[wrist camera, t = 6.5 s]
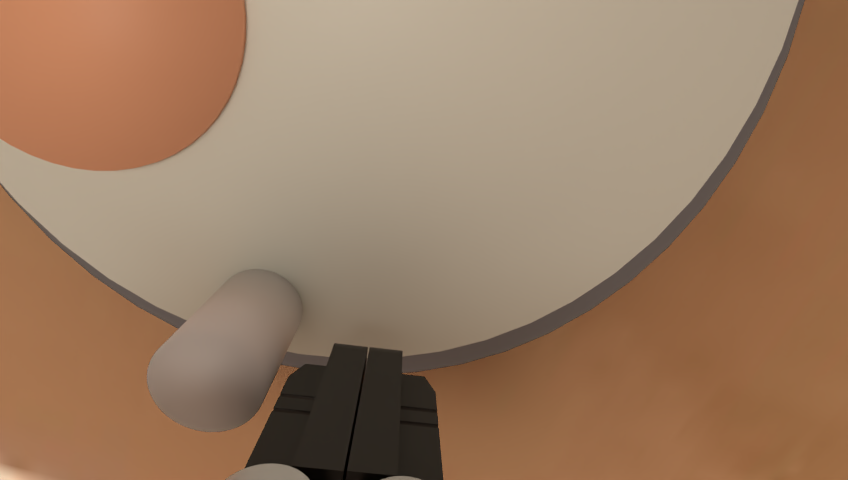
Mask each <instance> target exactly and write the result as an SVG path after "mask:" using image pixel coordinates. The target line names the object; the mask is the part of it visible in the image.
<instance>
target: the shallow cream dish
mask: <svg viewBox="0 0 848 480" xmlns="http://www.w3.org/2000/svg"><path fill="white" fill-rule="evenodd" d="M798 1H799V0H0V183H1V184H2V185H3V186H4V187H5V189H6V190H7V191H8V192H9V193H10V194H11V195H12V196H13V198H14V199H15V200H16V201H17V202H18V203H19V204H20V205H21V206H22V207H23V208H24V209H25V210H26V211H27V212H28V213H30V214H31V215H32V216H33V217H34V218H35V219H36V220H37V221H38V222H39V223H40V224H41V225H43V226H44V227H45V228H46V229H47V230H48V231H49V232H50V233H51V234H52V235H53V236H54V237H56V238H57V239H58V240H59V241H60V242H61V243H62V244H63V245H65V246H66V247H67V248H69V249H70V250H71V251H73V252H74V253H75V254H77V255H78V256H79V257H81V258H82V259H83V260H85V261H86V262H87V263H89V264H90V265H91V266H93V267H94V268H95V269H97V270H98V271H99V272H101V273H102V274H103V275H105V276H106V277H107V278H109V279H110V280H112V281H114V282H116V283H117V284H119V285H121V286H122V287H124V288H126V289H127V290H129V291H131V292H132V293H134V294H136V295H137V296H139V297H141V298H142V299H144V300H146V301H148V302H149V303H151V304H153V305H154V306H156V307H158V308H160V309H163V310H165V311H167V312H169V313H171V314H174V315H176V316H178V317H180V318H182V319H185V320H187V321H186V322H185V323H184V324H183V325H182V326H181V327H180V328H179V329H178V330H177V331H176V332H175V333H174V334H173V335H172V336H171V337H170V338H169V339H168V340H167V341H166V342H165V343H164V344H163V345H162V346H161V347H160V348H159V349H158V350H157V351H156V352H155V354H154V355H153V357H152V358H151V361H150V363H149V366H148V370H147V384H148V389H149V391H150V394H151V396H152V398H153V400H154V402H155V403H156V405H157V406H158V407H159V408H160V410H161V411H162V412H163V413H164V414H166V415H167V416H168V417H169V418H171V419H172V420H173V421H175V422H177V423H179V424H180V425H183V426H185V427H187V428H190V429H194V430H198V431H204V432H221V431H227V430H231V429H234V428H236V427H239V426H241V425H243V424H245V423H246V422H247V421H249V420H250V419H251V418H252V417H253V416H254V415H255V414H256V413H257V411H258V410H259V408H260V406H261V405H262V403H263V400H264V398H265V396H266V394H267V392H268V390H269V388H270V386H271V384H272V382H273V380H274V377H275V375H276V373H277V371H278V369H279V367H280V365H281V363H282V361H283V359H284V356H285V354H286V352H292V353H297V354H304V355H315V356H325V357H330V354H331V351H332V348H333V345H334V343H338V344H347V345H356V346H365V347H368V353H369V348H370V347H374V348H383V349H392V350H401V351H403V355H402V357H403V356H411V355H418V354H426V353H433V352H441V351H445V350H449V349H453V348H457V347H461V346H465V345H468V344H472V343H476V342H480V341H484V340H488V339H490V338H493V337H495V336H498V335H501V334H503V333H506V332H509V331H511V330H514V329H517V328H519V327H522V326H524V325H527V324H530V323H532V322H534V321H536V320H538V319H540V318H542V317H544V316H545V315H547V314H549V313H551V312H553V311H555V310H557V309H559V308H561V307H563V306H565V305H567V304H569V303H571V302H573V301H574V300H576V299H577V298H579V297H580V296H582V295H583V294H585V293H586V292H588V291H589V290H591V289H592V288H594V287H595V286H597V285H598V284H600V283H601V282H603V281H604V280H606V279H607V278H609V277H610V276H612V275H613V274H615V273H616V272H617V271H618V270H619V269H621V268H622V267H623V266H624V265H625V264H627V263H628V262H629V261H630V260H631V259H632V258H634V257H635V256H636V255H637V254H638V253H639V252H641V251H642V250H643V249H644V248H645V247H647V246H648V245H649V244H650V243H651V242H652V241H654V240H655V239H656V238H657V237H658V236H659V235H660V233H661V232H662V231H663V230H664V229H665V228H666V227H667V226H668V225H669V224H670V223H671V222H672V221H673V220H674V219H675V218H676V217H677V215H678V214H679V213H680V212H681V211H682V210H683V209H684V208H685V207H686V206H687V205H688V204H689V203H690V202H691V201H692V199H693V198H694V197H695V195H696V194H697V193H698V191H699V190H700V189H701V187H702V186H703V185H704V183H705V182H706V181H707V180H708V178H709V177H710V176H711V174H712V173H713V172H714V170H715V169H716V168H717V166H718V165H719V164H720V162H721V161H722V160H723V158H724V157H725V156H726V154H727V152H728V151H729V149H730V147H731V146H732V144H733V142H734V141H735V139H736V137H737V136H738V134H739V132H740V131H741V129H742V127H743V126H744V124H745V122H746V121H747V119H748V117H749V116H750V114H751V112H752V111H753V109H754V107H755V106H756V104H757V102H758V99H759V97H760V95H761V93H762V91H763V89H764V87H765V84H766V82H767V80H768V78H769V76H770V74H771V71H772V69H773V67H774V65H775V63H776V61H777V59H778V56H779V54H780V52H781V50H782V47H783V44H784V42H785V39H786V36H787V33H788V30H789V27H790V24H791V21H792V18H793V15H794V12H795V9H796V6H797V3H798ZM368 353H367V358H368Z"/></svg>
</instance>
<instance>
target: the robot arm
mask: <svg viewBox="0 0 848 480" xmlns="http://www.w3.org/2000/svg"><path fill="white" fill-rule="evenodd" d="M367 353H368V347H365V346H356V345H347V344H338V343H334V345H333V348H332V351H331V354H330V357H329V360H328V363H327V366H322V365H313V364H304V365H303V366H302V367H300V368H299V369H298V370H297V371H295V372H294V373H293V374H291V375H290V376H289V377H288V379H287V381H286V383H285V385H284V387H283V389H282V391H281V395H280V397H279V398H278V400H277V402H276V404H275V406H274V410H273V411H272V412H271V414H270V417H269V419H268V421H267V423H266V425H265V427H264V429H263V431H262V433H261V435H260V437H259V439H258V442H257V444H256V446H255V448H254V450H253V452H252V454H251V456H250V458H249V460H248V462H247V464H246V467H245V469H242V470H240V471H238V472H236V473H234V474H233V475H231V476H229V477H228V478H227V479H225V480H443V472H442V461H441V450H440V438H439V428H438V416H437V405H436V394H435V391H434V390H433V388H432V387H431V385H430V384H429V383H428V381H427V380H426V378H425V377H422V376H413V375H404V374H402V355H403V351H401V350H392V349H383V348H374V347H370V348H369V353H368V359H367ZM366 362H367V364H366Z"/></svg>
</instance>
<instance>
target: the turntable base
mask: <svg viewBox="0 0 848 480" xmlns="http://www.w3.org/2000/svg"><path fill="white" fill-rule="evenodd" d="M804 1H805V0H799V1H798V3H797V6H796V9H795V12H794V15H793V18H792V21H791V24H790V27H789V30H788V33H787V36H786V39H785V42H784V44H783V47H782V50H781V52H780V54H779V56H778V59H777V61H776V63H775V65H774V67H773V69H772V71H771V74H770V76H769V78H768V80H767V82H766V84H765V87H764V89H763V91H762V93H761V95H760V97H759V99H758V102H757V104H756V106H755V107H754V109H753V111H752V112H751V114H750V116H749V117H748V119H747V121H746V122H745V124H744V126H743V127H742V129H741V131H740V132H739V134H738V136H737V137H736V139H735V141H734V142H733V144H732V146H731V147H730V149H729V151H728V152H727V154H726V156H725V157H724V158H723V160H722V161H721V162H720V164H719V165H718V166H717V168H716V169H715V170H714V172H713V173H712V174H711V176H710V177H709V178H708V180H707V181H706V182H705V183H704V185H703V186H702V187H701V189H700V190H699V191H698V193H697V194H696V195H695V197H694V198H693V199H692V201H691V202H690V203H689V204H688V205H687V206H686V207H685V208H684V209H683V210H682V211H681V212H680V213H679V214H678V215H677V217H676V218H675V219H674V220H673V221H672V222H671V223H670V224H669V225H668V226H667V227H666V228H665V229H664V230H663V231H662V232H661V233H660V235H659V236H658V237H657V238H656V239H655V240H654V241H652V242H651V243H650V244H649V245H648V246H647V247H645V248H644V249H643V250H642V251H641V252H639V253H638V254H637V255H636V256H635V257H634V258H632V259H631V260H630V261H629V262H628V263H627V264H625V265H624V266H623V267H622V268H621V269H619V270H618V271H617V272H616V273H615V274H613V275H612V276H610V277H609V278H607V279H606V280H604V281H603V282H601V283H600V284H598V285H597V286H595V287H594V288H592V289H591V290H589V291H588V292H586V293H585V294H583V295H582V296H580V297H579V298H577V299H576V300H574V301H573V302H571V303H569V304H567V305H565V306H563V307H561V308H559V309H557V310H555V311H553V312H551V313H549V314H547V315H545V316H544V317H542V318H540V319H538V320H536V321H534V322H532V323H530V324H527V325H524V326H522V327H519V328H517V329H514V330H511V331H509V332H506V333H503V334H501V335H498V336H495V337H493V338H490V339H488V340H484V341H480V342H476V343H472V344H468V345H465V346H461V347H457V348H453V349H449V350H445V351H441V352H433V353H426V354H418V355H411V356H403V357H402V373H407V372H419V371H425V370H431V369H436V368H442V367H448V366H454V365H460V364H464V363H467V362H471V361H474V360H478V359H481V358H484V357H488V356H491V355H495V354H498V353H501V352H505V351H508V350H510V349H512V348H515V347H517V346H519V345H522V344H524V343H527V342H529V341H531V340H534V339H536V338H539V337H541V336H543V335H546V334H548V333H550V332H552V331H554V330H555V329H557V328H559V327H561V326H563V325H564V324H566V323H568V322H570V321H571V320H573V319H575V318H577V317H579V316H580V315H582V314H584V313H586V312H588V311H589V310H591V309H592V308H594V307H595V306H597V305H598V304H599V303H601V302H602V301H604V300H605V299H606V298H608V297H609V296H610V295H612V294H613V293H615V292H616V291H617V290H619V289H620V288H622V287H623V286H624V285H626V284H627V283H629V282H630V281H631V280H632V279H633V278H635V277H636V276H637V275H638V274H639V273H640V272H641V271H642V270H643V269H645V268H646V267H647V266H648V265H649V264H650V263H651V262H652V261H653V260H654V259H656V258H657V257H658V256H659V255H660V254H661V253H662V252H663V251H664V250H666V249H667V248H668V247H669V246H670V245H671V243H672V242H673V241H674V240H675V239H676V238H677V237H678V236H679V234H680V233H681V232H682V231H683V230H684V229H685V228H686V227H687V225H688V224H689V223H690V222H691V221H692V220H693V219H694V218H695V216H696V215H697V214H698V213H699V212H700V211H701V210H702V209H703V207H704V206H705V205H706V203H707V202H708V200H709V199H710V198H711V196H712V195H713V193H714V192H715V191H716V189H717V188H718V186H719V185H720V183H721V182H722V181H723V179H724V178H725V176H726V175H727V174H728V172H729V171H730V169H731V168H732V167H733V165H734V164H735V162H736V161H737V159H738V157H739V155H740V153H741V152H742V150H743V148H744V146H745V144H746V143H747V141H748V139H749V137H750V136H751V134H752V132H753V130H754V128H755V127H756V125H757V123H758V121H759V119H760V118H761V116H762V114H763V112H764V110H765V108H766V105H767V103H768V101H769V98H770V96H771V94H772V91H773V89H774V87H775V84H776V82H777V80H778V77H779V75H780V73H781V70H782V68H783V66H784V63H785V61H786V59H787V56H788V53H789V50H790V46H791V43H792V40H793V37H794V33H795V30H796V27H797V24H798V20H799V17H800V14H801V11H802V7H803V4H804ZM0 184H1V183H0ZM1 186H2V187H3V188H4V190H5V191H6V192H7V193H8V195H9V196H10V197H11V198H12V199H13V200H14V201H15V202H16V203H17V204H18V206H19V207H20V208H21V209H22V210H23V211H24V212H25V213H26V214H27V215H28V216H29V217H30V218H31V219H32V220H33V221H34V222H35V223H36V225H37V226H38V227H39V228H40V229H41V230H42V231H43V232H44V233H45V234H46V235H47V236H48V237H49V238H50V239H51V240H52V241H53V242H54V243H55V244H57V245H58V246H59V247H60V248H61V249H62V250H64V251H65V252H66V253H67V254H68V255H69V256H71V257H72V258H73V259H74V260H75V261H76V262H78V263H79V264H80V265H81V266H82V267H83V268H85V269H86V270H87V271H88V272H89V273H90V274H92V275H93V276H94V277H96V278H97V279H98V280H100V281H101V282H103V283H104V284H106V285H107V286H109V287H110V288H111V289H113V290H114V291H116V292H117V293H119V294H120V295H122V296H123V297H125V298H126V299H127V300H129V301H130V302H132V303H133V304H135V305H136V306H138V307H139V308H141V309H143V310H145V311H147V312H149V313H150V314H152V315H154V316H156V317H158V318H160V319H162V320H163V321H165V322H167V323H169V324H171V325H173V326H174V327H176V328H178V329H179V328H180V327H181V326H182V325H183V324H184V323H185V322H186V321H187V320H185V319H182V318H180V317H178V316H176V315H174V314H171V313H169V312H167V311H165V310H163V309H160V308H158V307H156V306H154V305H153V304H151V303H149V302H148V301H146V300H144V299H142V298H141V297H139V296H137V295H136V294H134V293H132V292H131V291H129V290H127V289H126V288H124V287H122V286H121V285H119V284H117V283H116V282H114V281H112V280H110V279H109V278H107V277H106V276H105V275H103V274H102V273H101V272H99V271H98V270H97V269H95V268H94V267H93V266H91V265H90V264H89V263H87V262H86V261H85V260H83V259H82V258H81V257H79V256H78V255H77V254H75V253H74V252H73V251H71V250H70V249H69V248H67V247H66V246H65V245H63V244H62V243H61V242H60V241H59V240H58V239H57V238H56V237H54V236H53V235H52V234H51V233H50V232H49V231H48V230H47V229H46V228H45V227H44V226H43V225H41V224H40V223H39V222H38V221H37V220H36V219H35V218H34V217H33V216H32V215H31V214H30V213H28V212H27V211H26V210H25V209H24V208H23V207H22V206H21V205H20V204H19V203H18V202H17V201H16V200H15V199H14V198H13V196H12V195H11V194H10V193H9V192H8V191H7V190H6V189H5V187H4V186H3V185H2V184H1ZM367 359H368V358H367ZM328 360H329V357H325V356H315V355H304V354H297V353H292V352H286V354H285V356H284V359H283V361H282V363H281V365H286V366H292V367H298V368H300V367H302V366H303V365H304V364H313V365H322V366H327V363H328ZM366 364H367V362H366Z"/></svg>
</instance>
